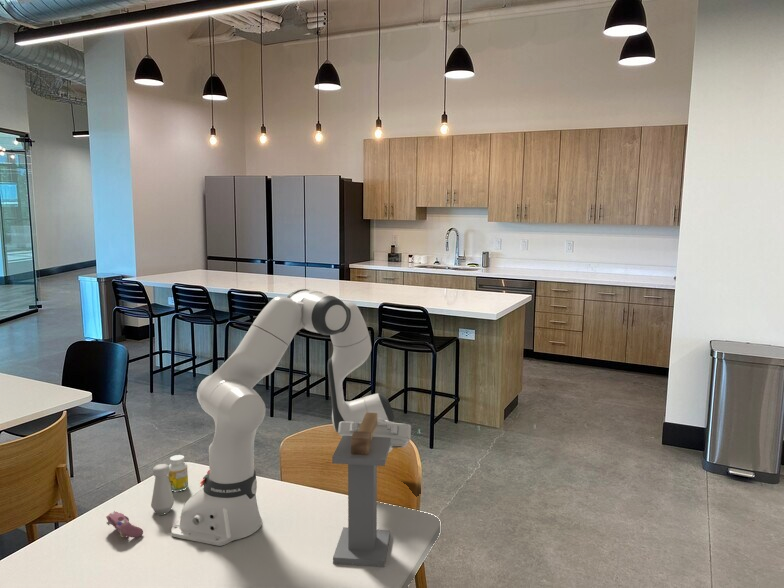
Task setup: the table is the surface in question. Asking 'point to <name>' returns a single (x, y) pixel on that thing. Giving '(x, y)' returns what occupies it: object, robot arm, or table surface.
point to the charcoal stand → (362, 505)
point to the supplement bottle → (178, 473)
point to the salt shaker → (162, 490)
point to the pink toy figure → (123, 525)
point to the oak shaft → (364, 435)
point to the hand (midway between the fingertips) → (372, 426)
